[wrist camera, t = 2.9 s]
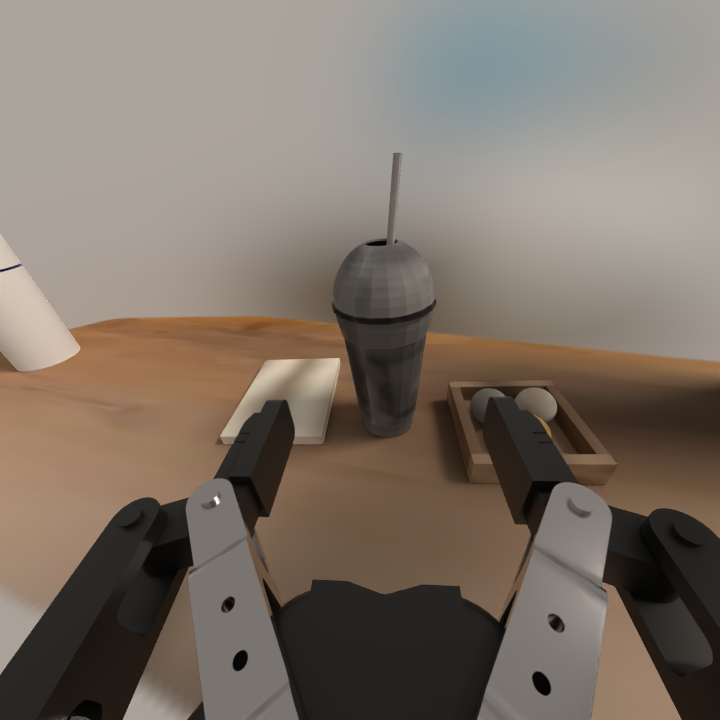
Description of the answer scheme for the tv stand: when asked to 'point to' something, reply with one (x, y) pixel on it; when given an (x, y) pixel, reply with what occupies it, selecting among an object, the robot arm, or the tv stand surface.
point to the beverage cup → (385, 323)
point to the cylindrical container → (29, 320)
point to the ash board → (291, 396)
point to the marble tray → (560, 428)
